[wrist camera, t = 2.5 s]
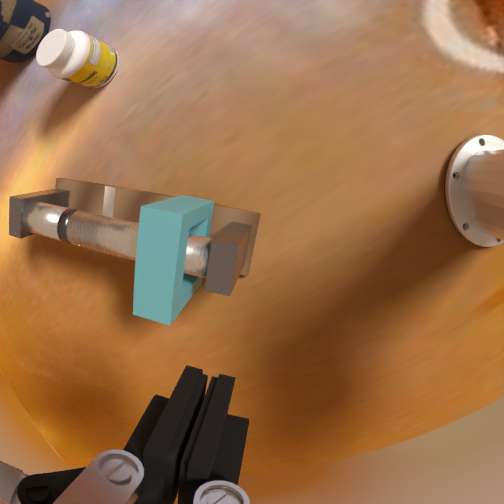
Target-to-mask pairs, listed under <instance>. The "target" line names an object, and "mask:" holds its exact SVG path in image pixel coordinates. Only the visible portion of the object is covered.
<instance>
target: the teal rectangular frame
mask: <svg viewBox="0 0 504 504" xmlns="http://www.w3.org/2000/svg"><path fill="white" fill-rule="evenodd" d="M214 202H215V201H212V200H207V199H201V198H196V197H191V196H185V195H182V196H178V197H174V198H170V199H166V200H162V201H158V202H155V203H151V204H147V205H144V206H141V210H140V218H139V228H138V238H137V249H136V262H135V277H134V297H133V315H136V316H140V317H143V318H146V319H150V320H153V321H156V322H160V323H163V324H167V325H171V324H172V322H173V321H174V320H175V318H176V317H177V316H178V314H179V313H180V312H181V310H182V309H183V308H184V306H185V305H186V304H187V302H188V301H189V300H190V298H191V297H192V296H193V294H194V293H195V292H196V290H197V289H198V288H199V286H200V285H201V283H202V277H198V276H193V275H189V274H185V273H184V266H185V258H186V251H187V243H188V236H189V233H190V234H194V235H199V236H204V237H208V238H209V231H210V225H211V219H212V213H213V207H214Z"/></svg>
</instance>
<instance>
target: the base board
mask: <svg viewBox="0 0 504 504" xmlns="http://www.w3.org/2000/svg"><path fill="white" fill-rule="evenodd" d="M56 189H64V190H69V191H70V195H69V208H71V209H76V210H81V211H86V212H90V213H95V214H100V215H105V216H109V217H114V218H119V219H124V220H128V221H133V222H138V223H139V218H140V210H141V206H144V205H147V204H151V203H155V202H158V201H162V200H166V199H170V198H174V196H168V195H163V194H157V193H151V192H146V191H140V190H134V189H128V188H122V187H116V186H110V185H103V184H97V183H91V182H84V181H77V180H71V179H64V178H56ZM259 218H260V213H256V212H251V211H246V210H241V209H236V208H231V207H226V206H221V205H216V204H214V207H213V213H212V219H211V225H210V231H209V238H214V237H215V236H217V235H218V234H219V233H220V232H221V231H222V230H223V229H224V228H225V227H227V226H228V225H229V224H230V223H231V222H232V221H233V222H238V223H243V224H248V225H252V230H251V235H250V240H249V245H248V250H247V255H246V260H245V265H244V267H243V269H242V271H241V273H240V275H244V276H248V273H249V268H250V263H251V258H252V253H253V248H254V243H255V238H256V233H257V228H258V223H259Z"/></svg>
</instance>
